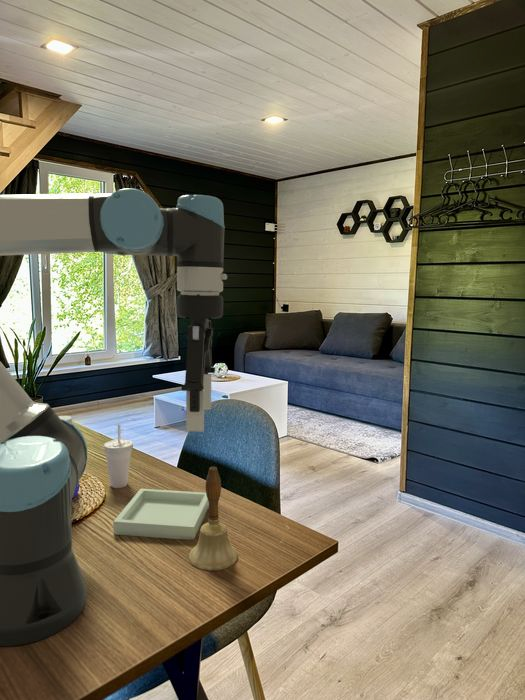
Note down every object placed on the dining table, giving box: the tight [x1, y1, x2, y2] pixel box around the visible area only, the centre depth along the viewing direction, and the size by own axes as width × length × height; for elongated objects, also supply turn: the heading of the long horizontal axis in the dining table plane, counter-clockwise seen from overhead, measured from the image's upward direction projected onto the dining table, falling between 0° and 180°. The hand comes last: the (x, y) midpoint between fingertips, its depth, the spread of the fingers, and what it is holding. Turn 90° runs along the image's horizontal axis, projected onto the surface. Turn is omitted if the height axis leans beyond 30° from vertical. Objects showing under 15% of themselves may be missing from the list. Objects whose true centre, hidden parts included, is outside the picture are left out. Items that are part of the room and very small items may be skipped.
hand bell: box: [188, 466, 239, 572], centre depth 85 cm, size 8×8×16 cm
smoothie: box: [103, 423, 134, 489], centre depth 114 cm, size 6×6×14 cm
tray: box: [113, 488, 209, 541], centre depth 99 cm, size 15×15×2 cm
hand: (199, 419), depth 86 cm, fingers open, 13 cm apart
